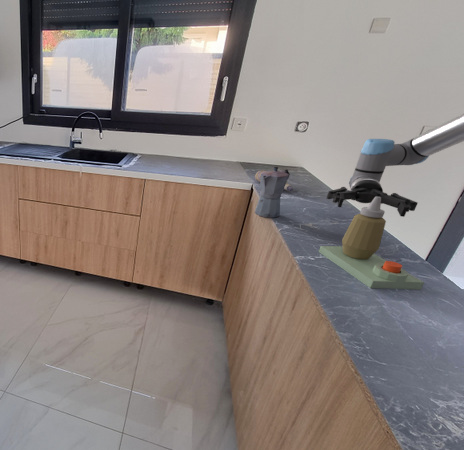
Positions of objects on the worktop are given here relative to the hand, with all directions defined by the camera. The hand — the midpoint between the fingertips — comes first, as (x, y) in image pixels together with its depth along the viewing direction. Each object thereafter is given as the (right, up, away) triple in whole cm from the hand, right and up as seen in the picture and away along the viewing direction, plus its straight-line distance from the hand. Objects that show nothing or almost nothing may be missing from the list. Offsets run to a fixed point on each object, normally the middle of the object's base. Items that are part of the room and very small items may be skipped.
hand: (371, 207), depth 90 cm
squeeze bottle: (-3, -14, +1) cm, 15 cm away
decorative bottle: (+20, +15, +74) cm, 78 cm away
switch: (-4, -17, -10) cm, 20 cm away
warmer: (-4, -18, -2) cm, 18 cm away
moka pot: (-5, -1, +39) cm, 39 cm away
